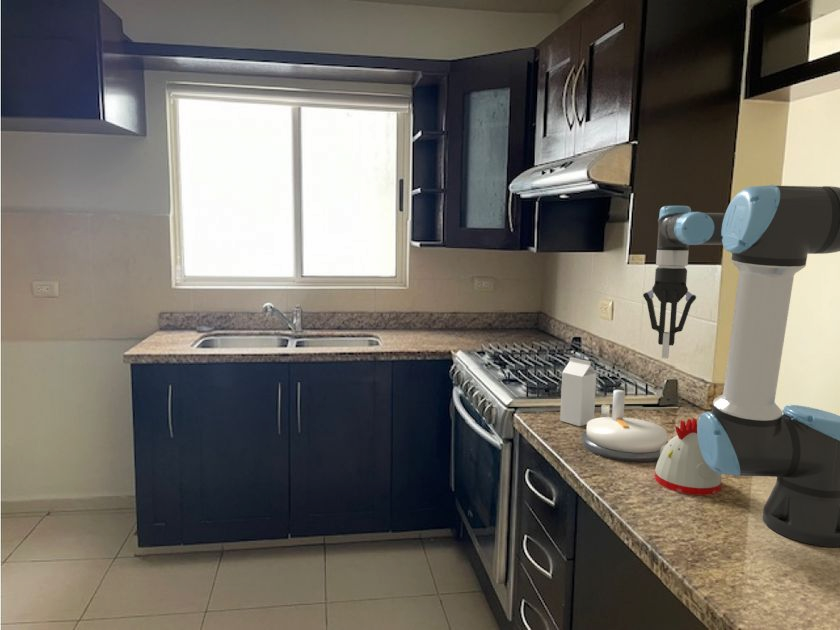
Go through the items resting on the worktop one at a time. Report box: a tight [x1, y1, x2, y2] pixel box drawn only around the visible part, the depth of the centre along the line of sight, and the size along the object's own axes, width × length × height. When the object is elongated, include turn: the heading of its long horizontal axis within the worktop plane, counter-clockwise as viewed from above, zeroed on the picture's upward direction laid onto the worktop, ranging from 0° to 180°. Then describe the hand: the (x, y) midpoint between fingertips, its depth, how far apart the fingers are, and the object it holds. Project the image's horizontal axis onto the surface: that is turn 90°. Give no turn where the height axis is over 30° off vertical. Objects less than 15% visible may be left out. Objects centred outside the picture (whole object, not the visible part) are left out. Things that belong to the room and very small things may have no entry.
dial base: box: [581, 403, 669, 464], centre depth 163 cm, size 25×22×7 cm
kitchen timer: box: [654, 417, 722, 496], centre depth 139 cm, size 14×14×15 cm
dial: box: [585, 389, 668, 453], centre depth 161 cm, size 20×20×11 cm
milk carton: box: [559, 357, 597, 427], centre depth 182 cm, size 7×7×19 cm
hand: (665, 357), depth 160 cm, fingers closed
